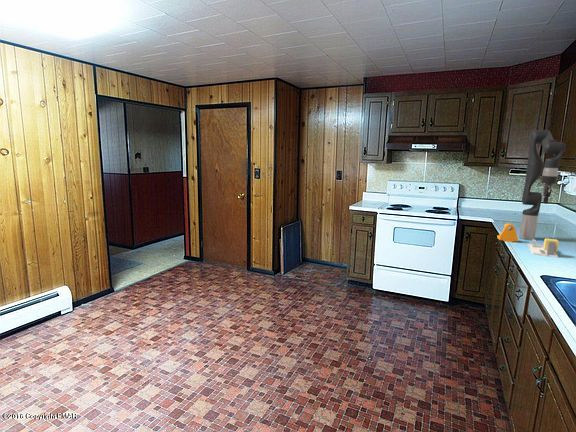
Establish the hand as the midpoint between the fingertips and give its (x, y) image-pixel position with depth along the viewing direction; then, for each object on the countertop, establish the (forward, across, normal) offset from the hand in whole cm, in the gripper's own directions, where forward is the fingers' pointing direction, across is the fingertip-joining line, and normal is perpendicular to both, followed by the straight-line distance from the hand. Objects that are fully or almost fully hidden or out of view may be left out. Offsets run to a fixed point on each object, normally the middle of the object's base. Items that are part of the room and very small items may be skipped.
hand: (545, 203), depth 215 cm
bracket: (+29, +13, +16) cm, 36 cm away
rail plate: (+29, -6, -1) cm, 30 cm away
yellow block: (+26, -14, -4) cm, 30 cm away
